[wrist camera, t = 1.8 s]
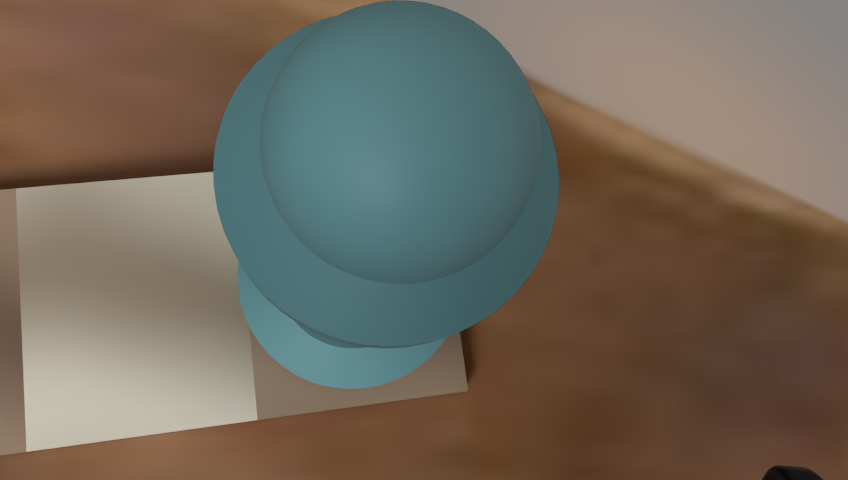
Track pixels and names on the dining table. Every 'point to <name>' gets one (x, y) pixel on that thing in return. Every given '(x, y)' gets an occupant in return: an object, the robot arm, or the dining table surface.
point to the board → (144, 321)
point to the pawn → (381, 189)
